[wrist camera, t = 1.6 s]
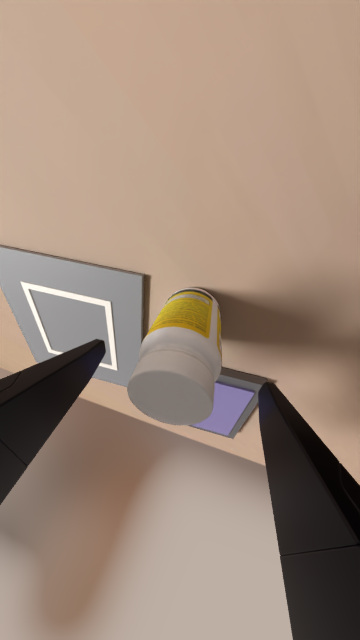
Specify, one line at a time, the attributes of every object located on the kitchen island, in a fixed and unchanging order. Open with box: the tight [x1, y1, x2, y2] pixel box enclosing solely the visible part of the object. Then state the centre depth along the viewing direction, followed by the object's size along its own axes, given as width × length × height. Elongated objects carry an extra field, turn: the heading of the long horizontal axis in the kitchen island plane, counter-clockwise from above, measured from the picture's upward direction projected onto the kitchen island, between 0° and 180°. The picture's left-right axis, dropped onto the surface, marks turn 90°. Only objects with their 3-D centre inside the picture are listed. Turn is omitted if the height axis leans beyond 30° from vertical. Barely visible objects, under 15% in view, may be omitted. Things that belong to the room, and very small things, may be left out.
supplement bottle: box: [127, 288, 222, 425], centre depth 11 cm, size 5×5×8 cm
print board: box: [0, 245, 144, 387], centre depth 18 cm, size 15×15×1 cm
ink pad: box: [187, 367, 267, 439], centre depth 19 cm, size 11×11×1 cm
